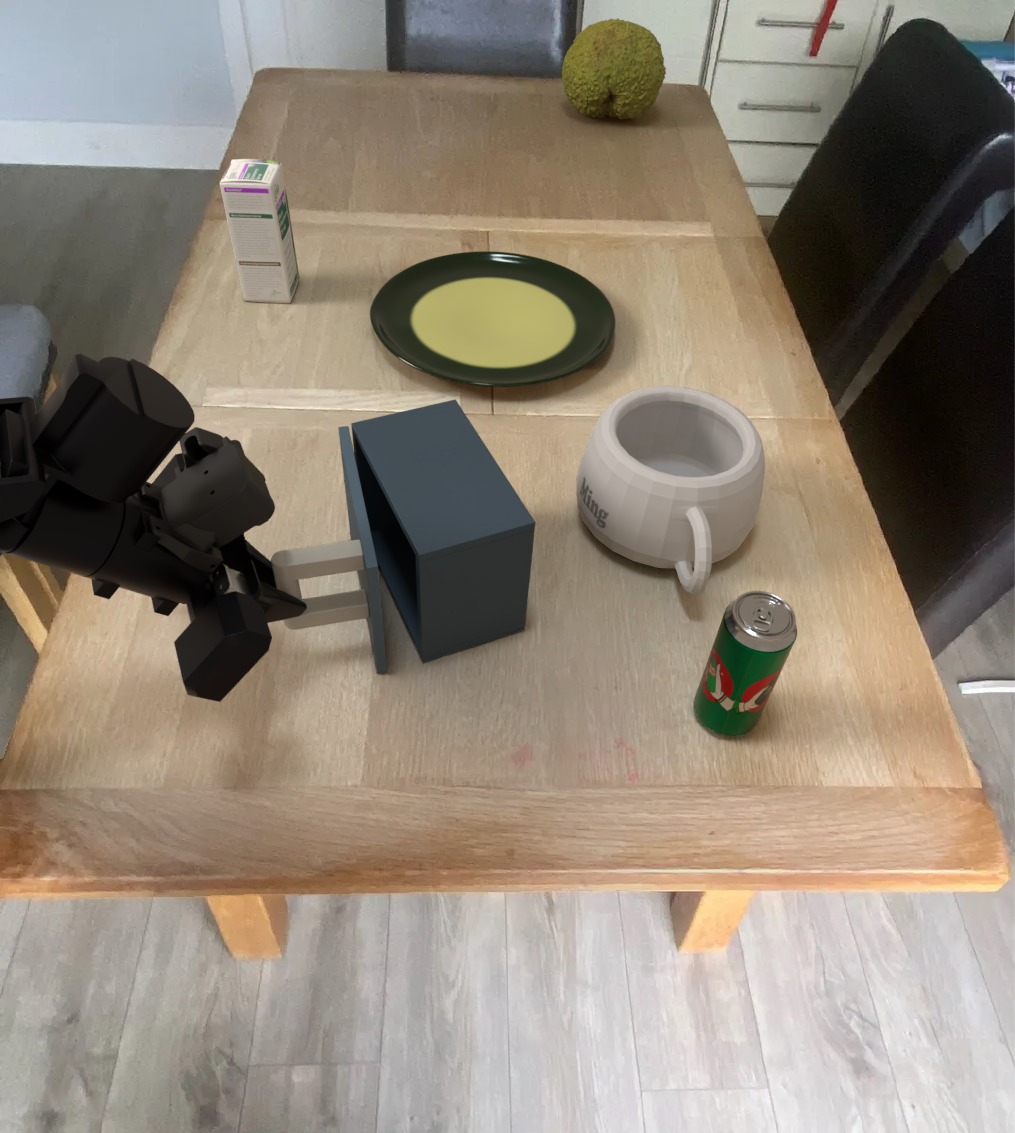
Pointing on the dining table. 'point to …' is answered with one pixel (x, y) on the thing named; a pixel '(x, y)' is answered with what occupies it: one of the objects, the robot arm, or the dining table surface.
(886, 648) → the dining table surface
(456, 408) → the cabinet
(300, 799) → the dining table surface
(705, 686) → the soda can
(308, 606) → the cabinet door
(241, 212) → the syrup box
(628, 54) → the fruit
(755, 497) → the mug
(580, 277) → the plate
